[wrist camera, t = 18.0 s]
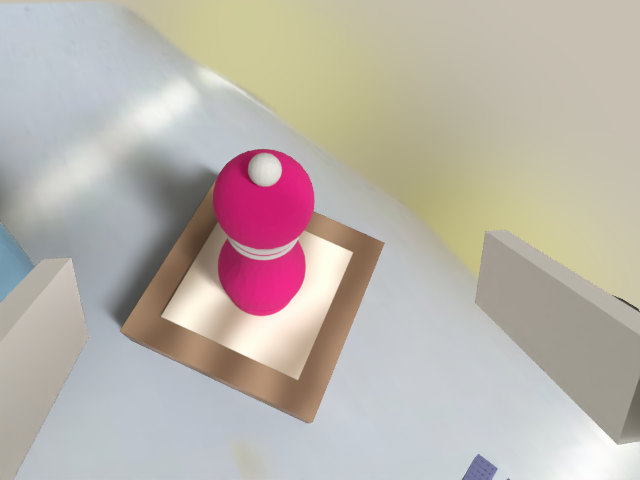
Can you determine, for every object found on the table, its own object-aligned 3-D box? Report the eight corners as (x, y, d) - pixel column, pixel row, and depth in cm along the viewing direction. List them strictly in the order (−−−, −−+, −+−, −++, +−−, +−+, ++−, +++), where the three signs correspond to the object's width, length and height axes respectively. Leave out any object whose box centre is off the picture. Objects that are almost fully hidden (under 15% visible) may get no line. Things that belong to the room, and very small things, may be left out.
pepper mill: (226, 328, 39) (198, 232, 21) (217, 251, 42) (187, 108, 24) (307, 315, 41) (348, 215, 22) (294, 242, 43) (320, 100, 25)
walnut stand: (131, 340, 42) (118, 330, 38) (224, 190, 49) (221, 169, 45) (307, 423, 41) (313, 421, 37) (375, 257, 48) (385, 241, 44)
